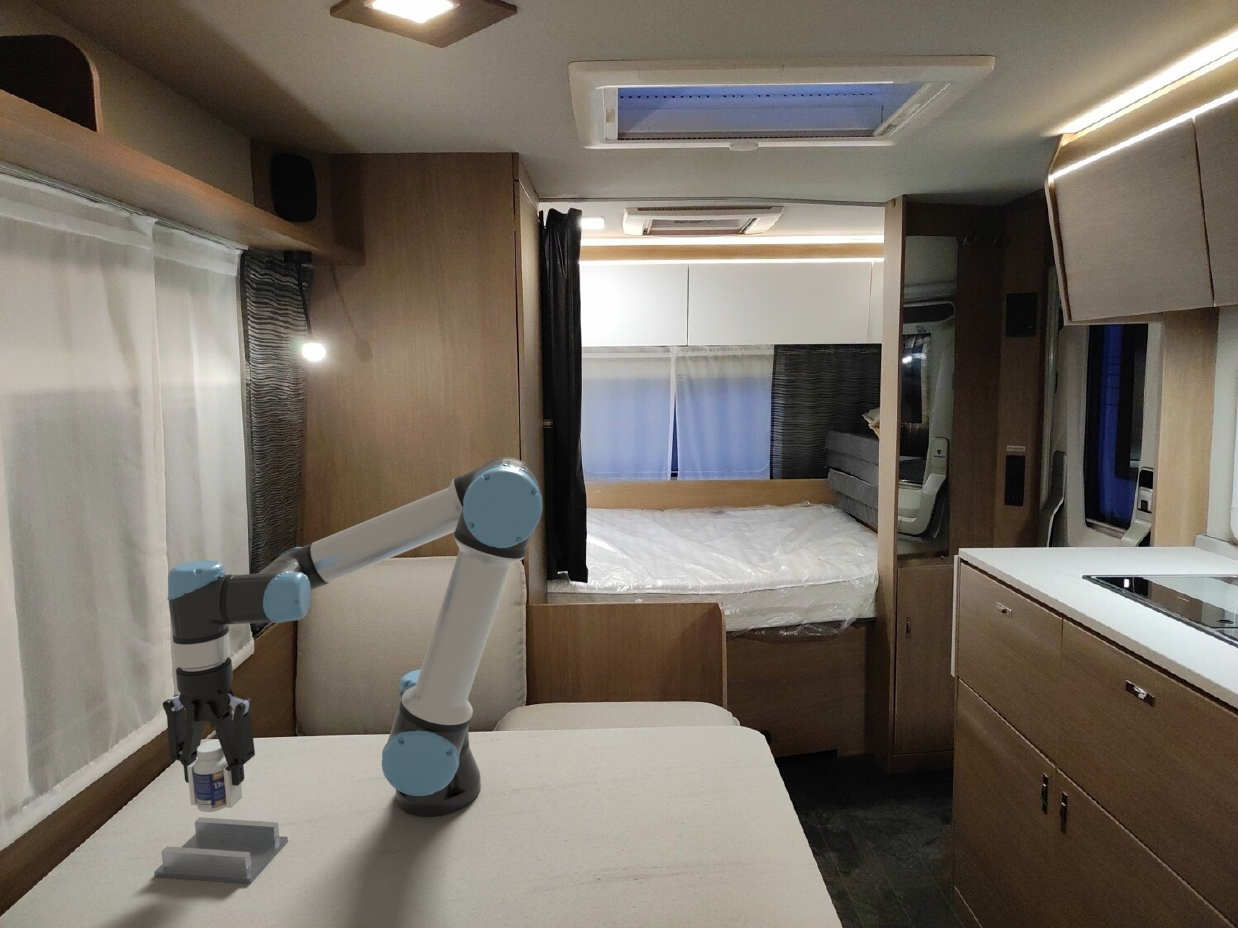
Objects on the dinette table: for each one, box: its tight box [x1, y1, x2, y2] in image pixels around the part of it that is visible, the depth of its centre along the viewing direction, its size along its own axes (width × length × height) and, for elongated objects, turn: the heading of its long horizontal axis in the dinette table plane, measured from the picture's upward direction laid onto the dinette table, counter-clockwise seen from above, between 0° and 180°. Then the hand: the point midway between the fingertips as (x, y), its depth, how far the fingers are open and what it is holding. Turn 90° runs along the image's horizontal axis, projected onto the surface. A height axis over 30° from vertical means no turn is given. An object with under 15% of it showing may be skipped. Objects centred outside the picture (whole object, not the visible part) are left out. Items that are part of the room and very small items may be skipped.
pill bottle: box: [194, 739, 228, 813], centre depth 114 cm, size 5×5×10 cm
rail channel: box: [153, 817, 289, 885], centre depth 116 cm, size 16×10×4 cm, turn 83°
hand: (216, 800), depth 115 cm, fingers closed on pill bottle, 5 cm apart
